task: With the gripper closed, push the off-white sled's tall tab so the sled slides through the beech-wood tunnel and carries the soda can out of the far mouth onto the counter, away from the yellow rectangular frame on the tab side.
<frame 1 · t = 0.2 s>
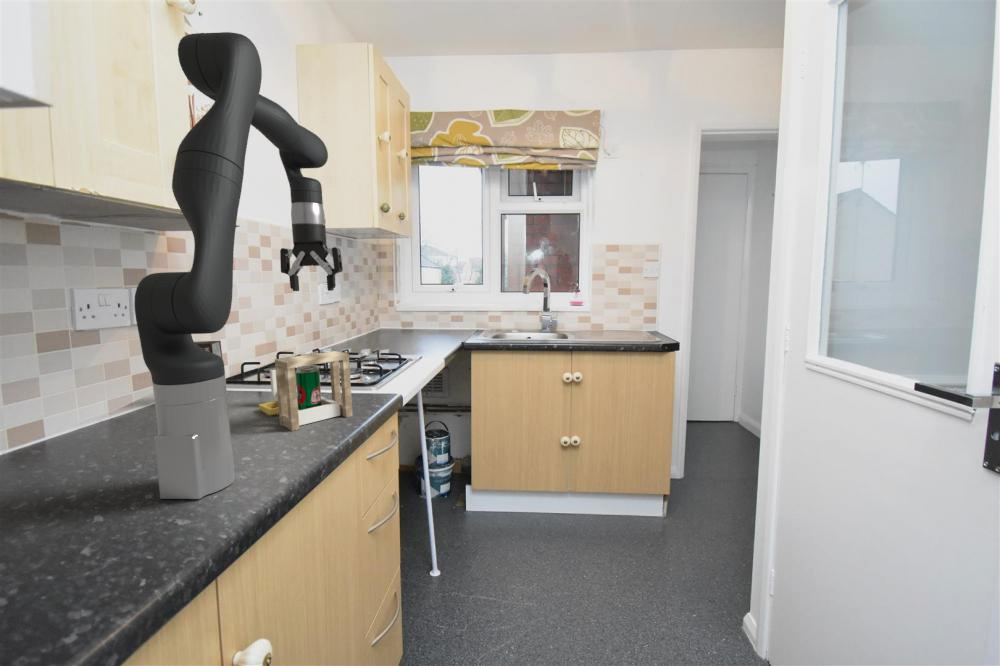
hand: (313, 290, 114), 29 cm above the worktop, tool pointing down, fingers open, 8 cm apart
sled: (297, 393, 111), point 5 cm above the worktop, slide at 0.0 cm
yellow rectangular frame: (290, 408, 115), on the worktop
coffee box: (204, 403, 122), on the worktop
soda can: (310, 418, 107), resting in sled
tunnel: (310, 417, 107), on the worktop
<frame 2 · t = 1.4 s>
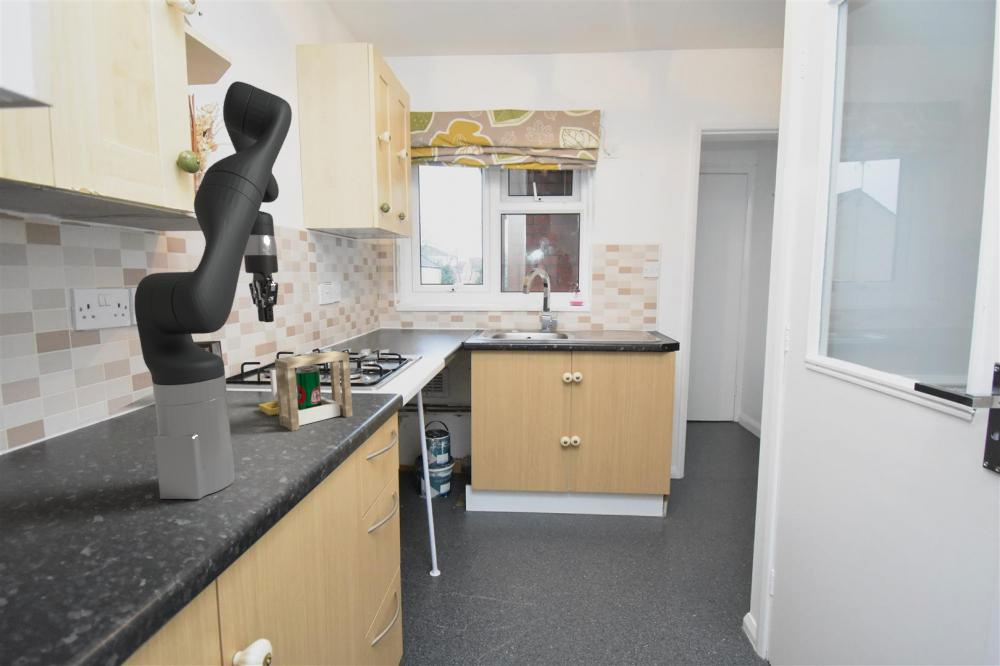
hand: (266, 321, 120), 21 cm above the worktop, tool pointing down, fingers open, 3 cm apart
nothing on the worktop moved.
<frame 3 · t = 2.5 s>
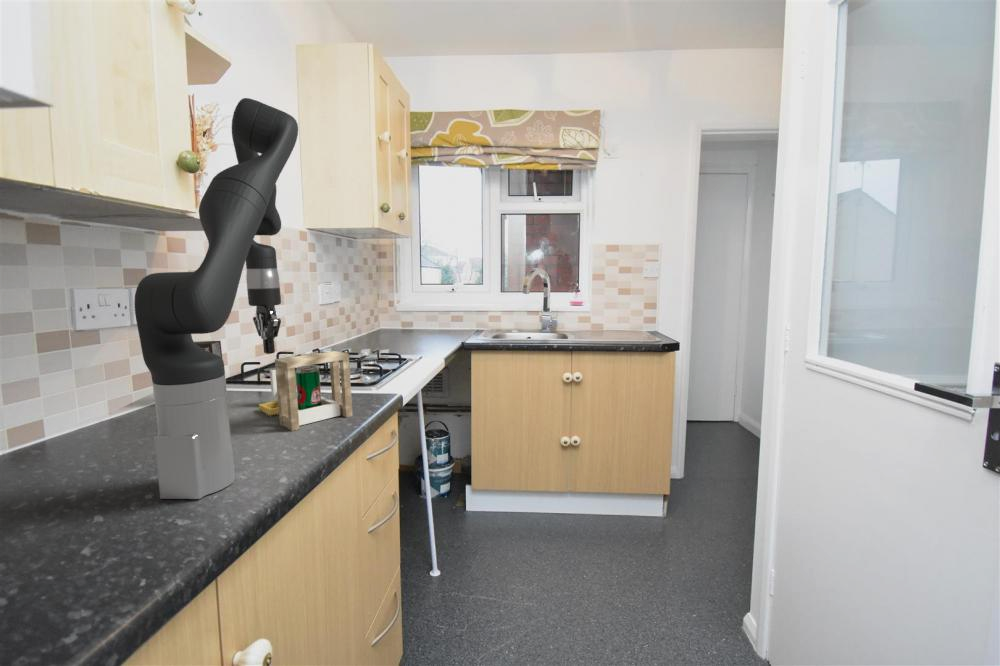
hand: (269, 353, 121), 13 cm above the worktop, tool pointing down, fingers closed
nothing on the worktop moved.
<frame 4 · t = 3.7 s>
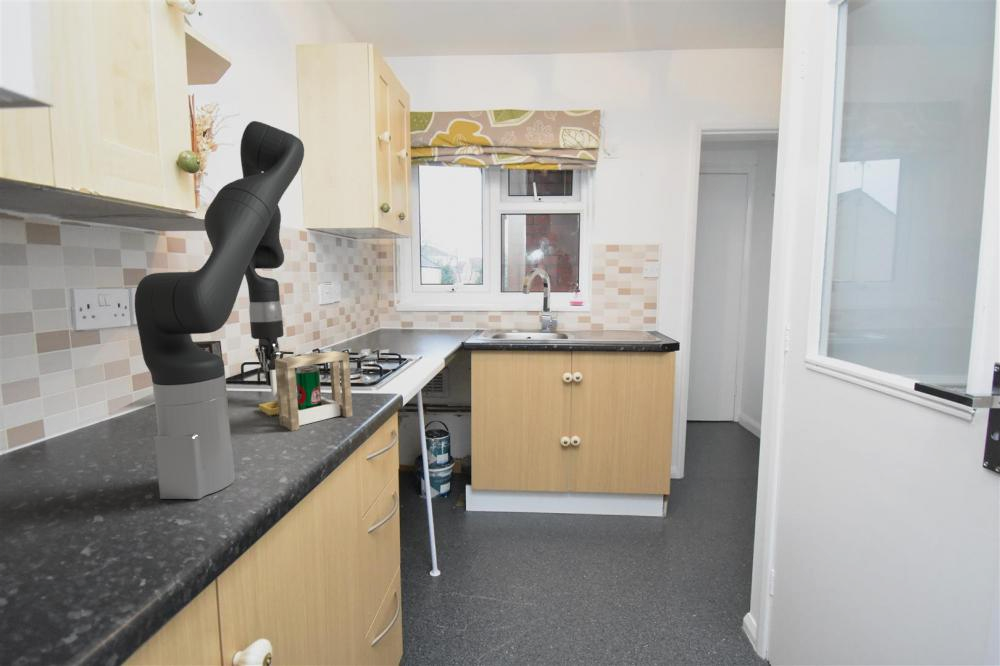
hand: (271, 384, 122), 4 cm above the worktop, tool pointing down, fingers closed
nothing on the worktop moved.
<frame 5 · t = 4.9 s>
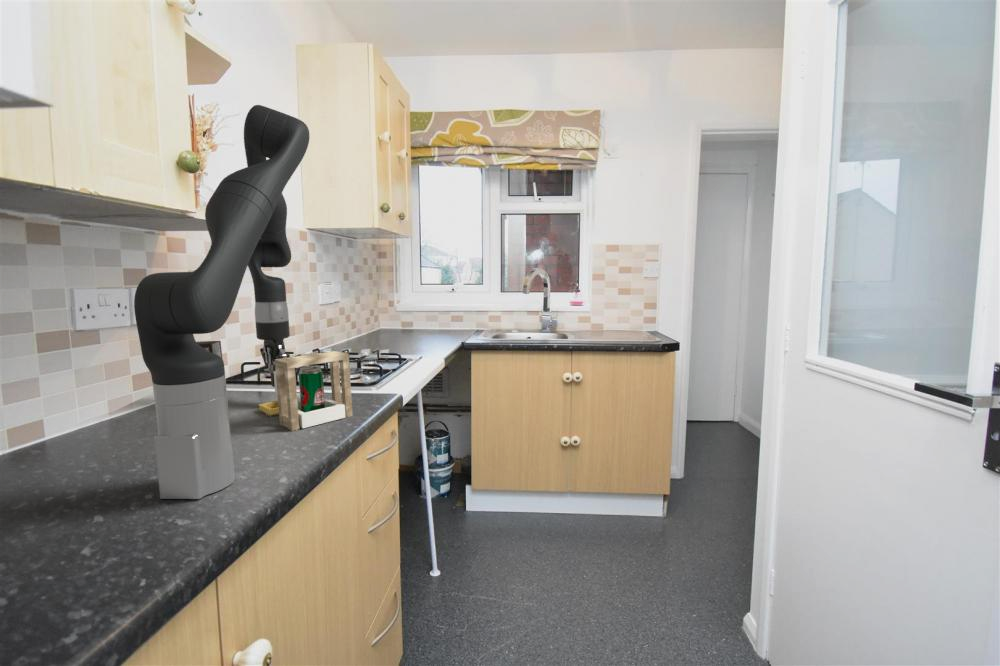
hand: (276, 386, 119), 5 cm above the worktop, tool pointing down, fingers closed
sled: (301, 394, 109), point 5 cm above the worktop, slide at 2.5 cm, touching gripper, hand, soda can
soda can: (314, 419, 106), resting in sled
everything else where it was.
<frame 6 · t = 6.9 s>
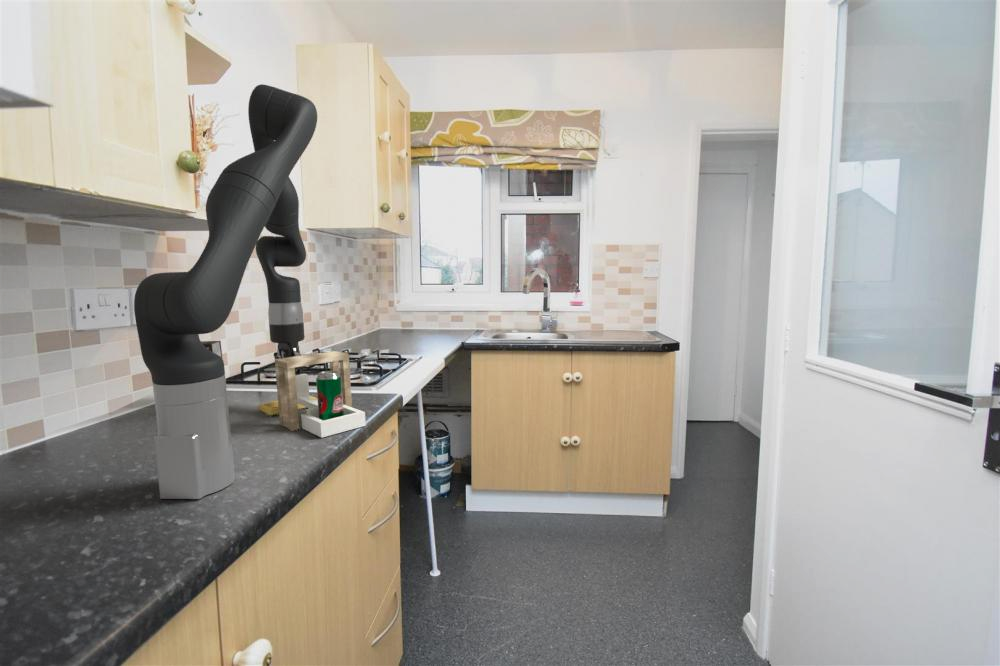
hand: (291, 392, 113), 5 cm above the worktop, tool pointing down, fingers closed
sled: (319, 401, 103), point 5 cm above the worktop, slide at 11.2 cm, touching gripper, soda can
soda can: (332, 427, 100), resting in sled
everything else where it was.
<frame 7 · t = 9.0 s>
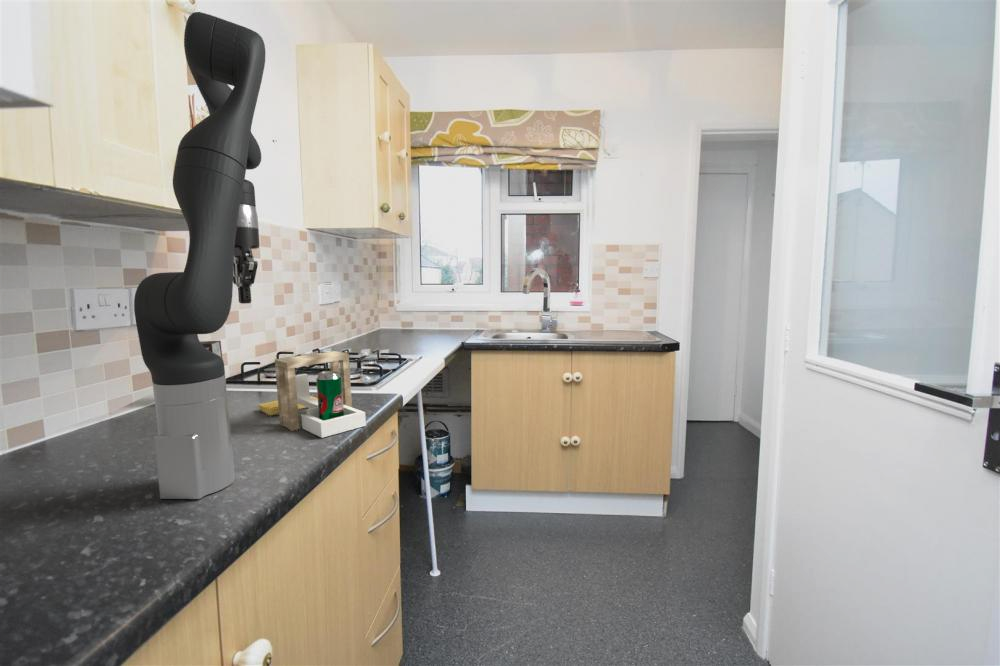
hand: (245, 303, 107), 27 cm above the worktop, tool pointing down, fingers closed
sled: (319, 401, 103), point 5 cm above the worktop, slide at 11.3 cm
soda can: (332, 428, 100), resting in sled
everything else where it was.
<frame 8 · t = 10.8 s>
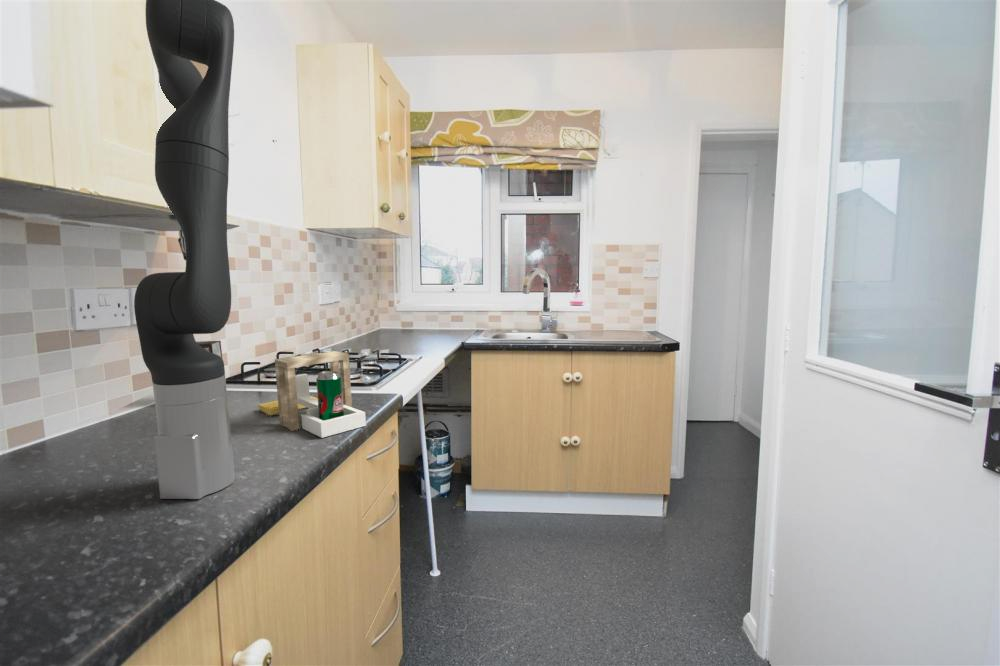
hand: (196, 280, 100), 32 cm above the worktop, tool pointing down, fingers closed
nothing on the worktop moved.
at the end: sled slide at 11.3 cm; soda can inside the target area (0.4 cm from its centre), resting in sled; soda can tilted 0° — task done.
